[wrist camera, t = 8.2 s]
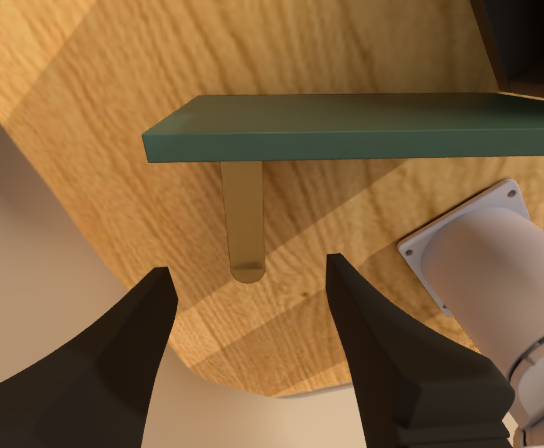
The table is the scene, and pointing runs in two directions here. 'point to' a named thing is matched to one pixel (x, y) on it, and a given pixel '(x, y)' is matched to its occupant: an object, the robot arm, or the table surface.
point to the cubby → (514, 43)
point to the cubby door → (331, 141)
